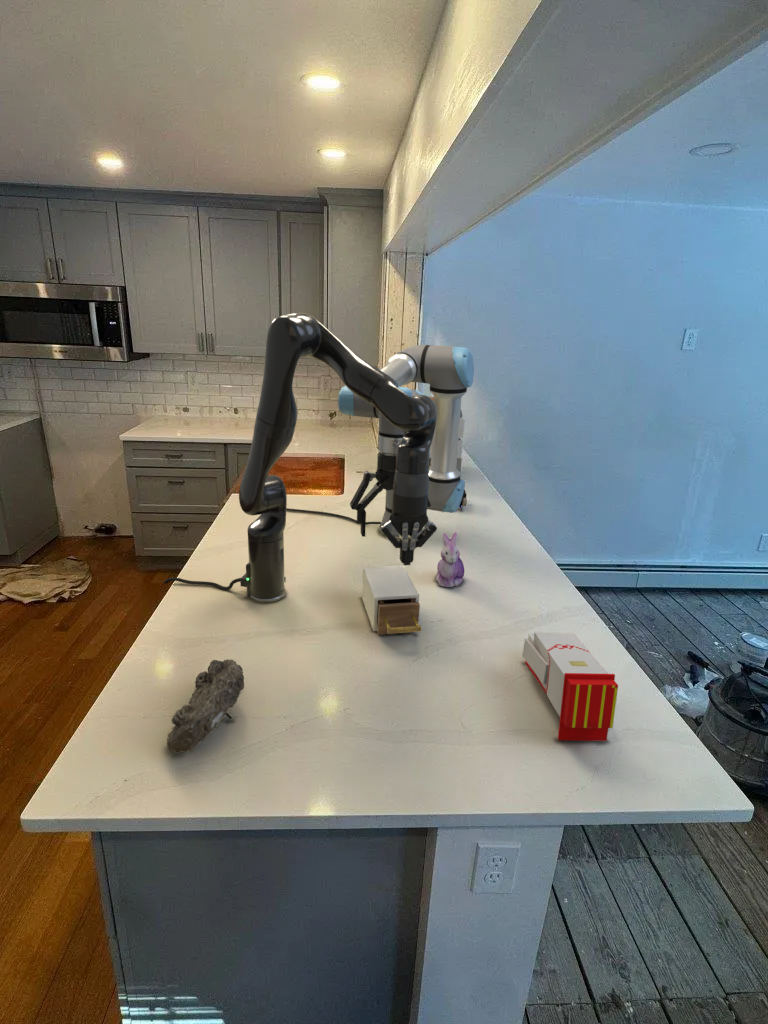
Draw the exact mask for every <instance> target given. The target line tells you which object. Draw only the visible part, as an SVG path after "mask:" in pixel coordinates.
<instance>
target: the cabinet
mask: <svg viewBox="0 0 768 1024" xmlns="http://www.w3.org/2000/svg"><path fill="white" fill-rule="evenodd" d="M361 587H362V589H361V591H362V592H361V599H362V603H363V605H364V608H365V611H366V614H367V617H368V619H369V623H370V625H371V628H372V631H373V632H377V628H378V623H377V611H378V600H391V599H408V598H413V599H414V602H419V603H420V594H419V592H418V590H417V588H416V587H415V584H414V583H413V581H412V579H411V577H410V575H409V573H408V571H407V570H406V568H405V565H403V564H402V565H401V564H400V565H399V564H398V565H382V566H381V565H379V566H363V567H362V585H361Z"/></svg>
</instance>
